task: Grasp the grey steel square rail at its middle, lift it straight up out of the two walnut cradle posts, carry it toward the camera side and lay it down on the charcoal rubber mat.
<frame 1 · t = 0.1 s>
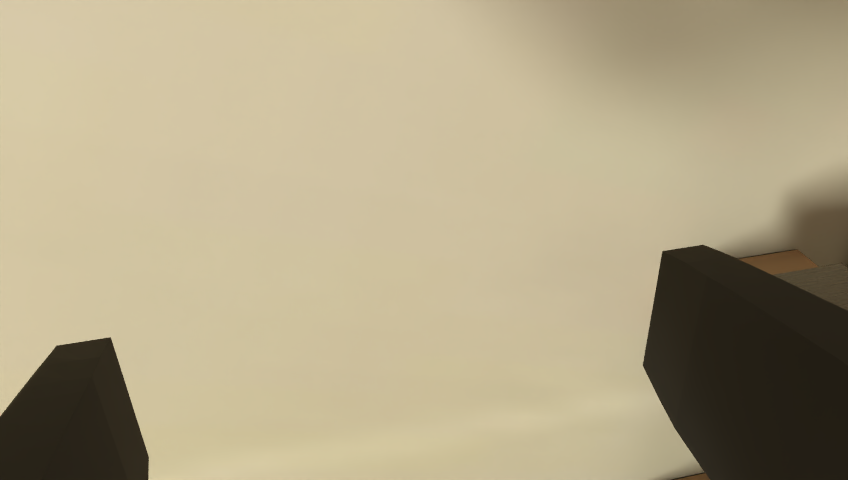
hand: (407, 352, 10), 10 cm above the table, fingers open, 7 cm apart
cradle posts: (697, 405, 28), on the table
rail: (744, 467, 25), point 3 cm above the table, touching cradle posts
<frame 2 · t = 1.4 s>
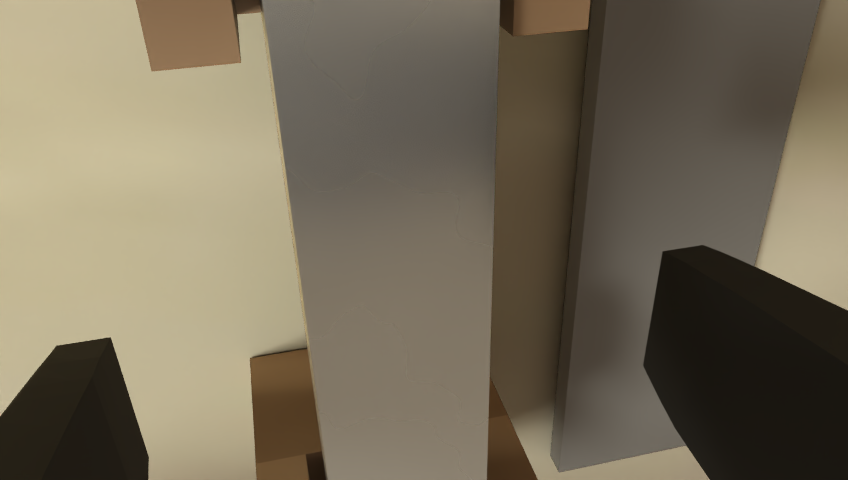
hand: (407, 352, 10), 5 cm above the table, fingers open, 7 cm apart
cradle posts: (345, 177, 14), on the table
mat: (676, 135, 16), on the table
rail: (372, 260, 12), point 3 cm above the table, touching cradle posts
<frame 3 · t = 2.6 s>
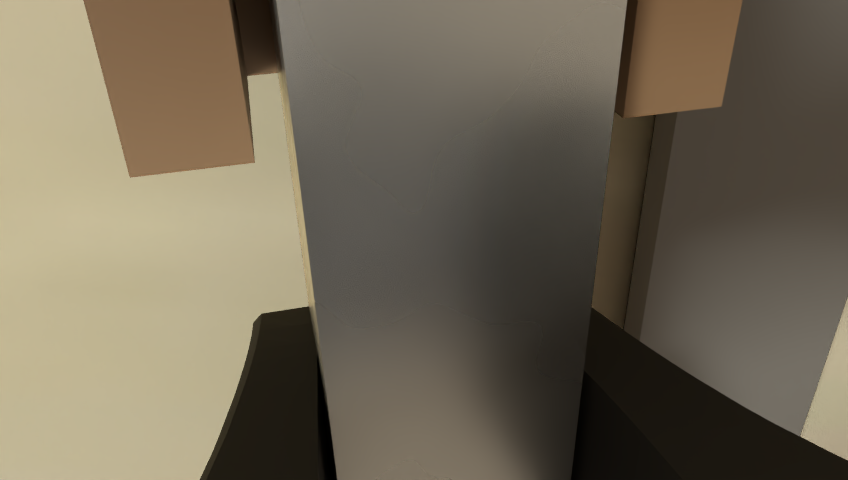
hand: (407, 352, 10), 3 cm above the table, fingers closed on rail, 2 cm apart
cradle posts: (371, 243, 12), on the table
mat: (755, 188, 13), on the table
rail: (410, 361, 10), point 3 cm above the table, touching cradle posts, gripper
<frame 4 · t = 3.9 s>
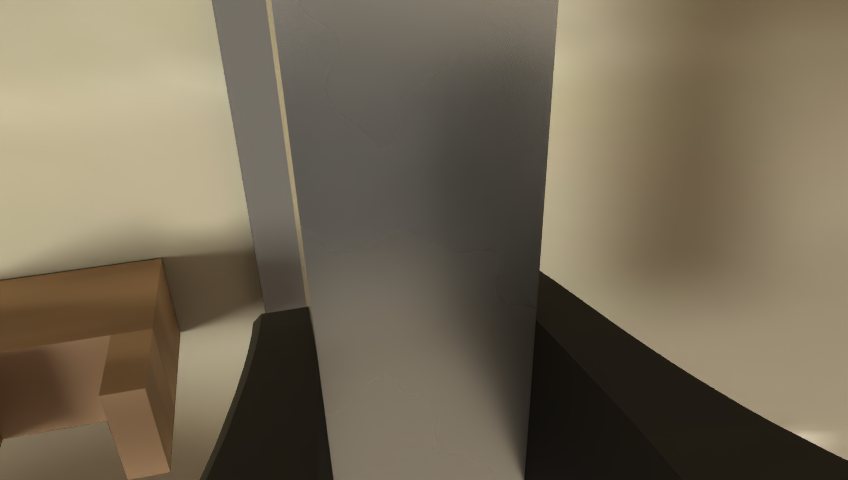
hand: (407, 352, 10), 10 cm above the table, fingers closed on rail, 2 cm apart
cradle posts: (13, 125, 17), on the table
mat: (323, 93, 18), on the table
rail: (392, 307, 11), point 9 cm above the table, touching gripper
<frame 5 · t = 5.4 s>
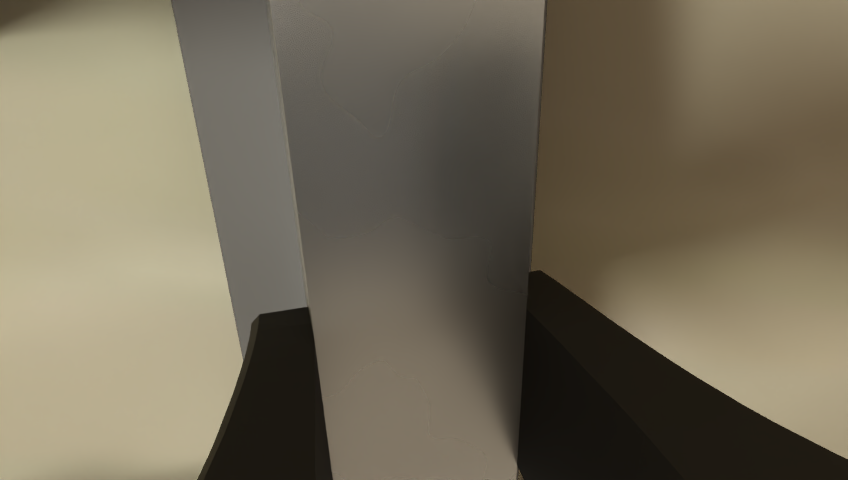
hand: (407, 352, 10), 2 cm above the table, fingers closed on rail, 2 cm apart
mat: (380, 274, 11), on the table
rail: (388, 297, 11), point 1 cm above the table, touching gripper, mat
when the fingers open (2 cm above the table, at t = 5.7 s): rail stays where it is, resting on mat.
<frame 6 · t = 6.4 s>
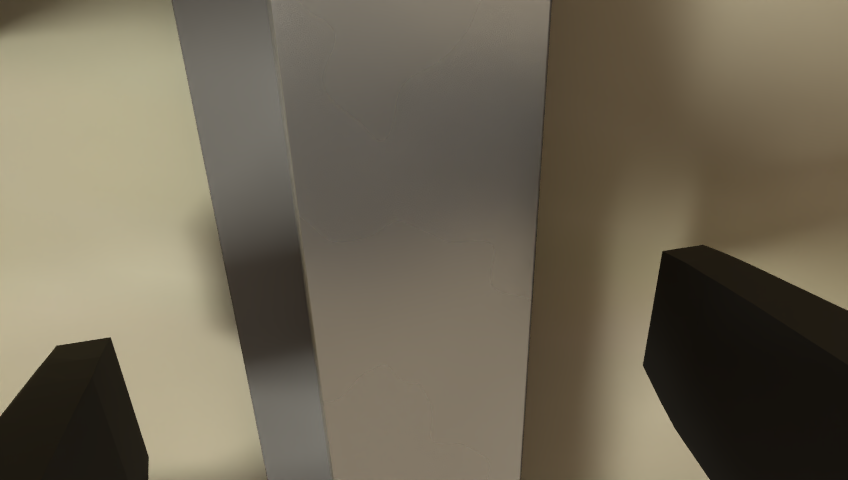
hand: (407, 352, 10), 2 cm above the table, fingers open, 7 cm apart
mat: (383, 276, 11), on the table
rail: (390, 300, 11), point 1 cm above the table, touching mat
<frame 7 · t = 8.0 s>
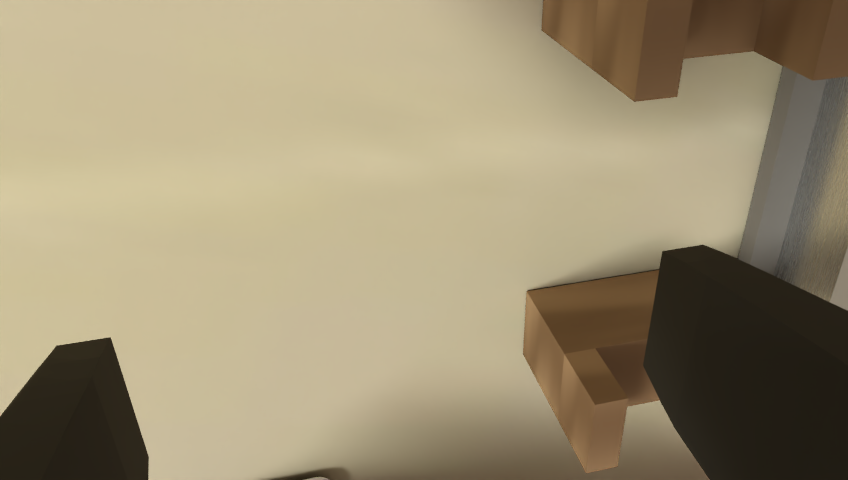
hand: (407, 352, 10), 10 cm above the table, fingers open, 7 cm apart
cradle posts: (613, 163, 21), on the table
mat: (830, 134, 22), on the table
rail: (844, 142, 22), point 1 cm above the table, touching mat
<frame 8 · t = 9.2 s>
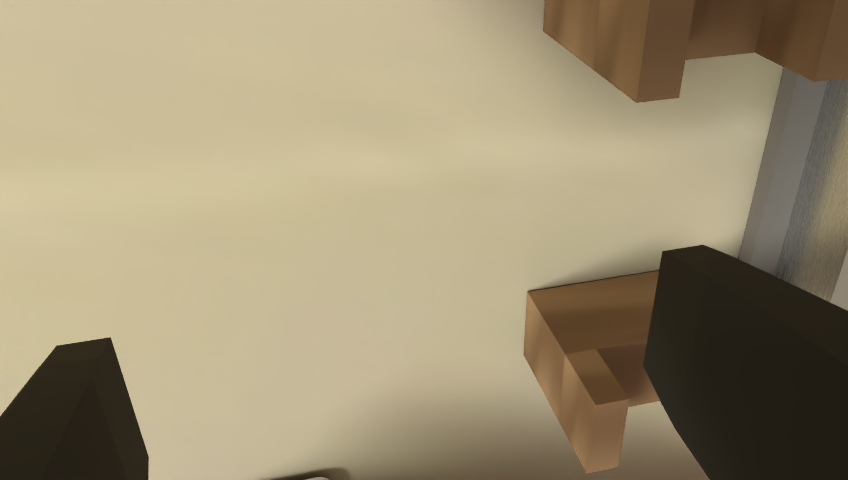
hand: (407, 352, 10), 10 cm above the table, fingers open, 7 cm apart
cradle posts: (614, 164, 21), on the table
mat: (831, 135, 22), on the table
rail: (844, 144, 22), point 1 cm above the table, touching mat
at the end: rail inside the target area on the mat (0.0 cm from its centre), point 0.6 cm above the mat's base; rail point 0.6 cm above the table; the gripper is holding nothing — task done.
